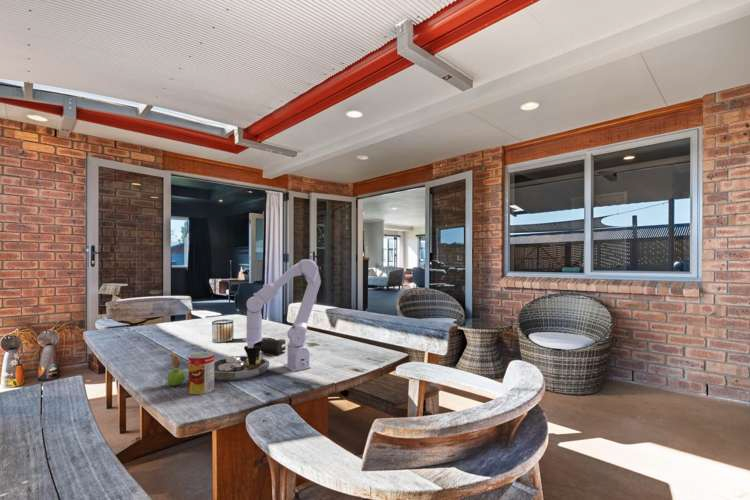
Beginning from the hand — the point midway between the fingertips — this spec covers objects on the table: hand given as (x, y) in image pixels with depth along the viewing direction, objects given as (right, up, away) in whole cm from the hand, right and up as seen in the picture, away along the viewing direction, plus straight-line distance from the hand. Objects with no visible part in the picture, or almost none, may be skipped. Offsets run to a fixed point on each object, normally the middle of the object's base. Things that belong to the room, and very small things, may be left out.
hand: (253, 362), depth 142 cm
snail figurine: (-22, -3, -16) cm, 27 cm away
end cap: (0, -4, +25) cm, 26 cm away
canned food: (-11, -3, -21) cm, 24 cm away
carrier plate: (-6, -3, -1) cm, 7 cm away
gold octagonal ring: (0, -2, 0) cm, 2 cm away
